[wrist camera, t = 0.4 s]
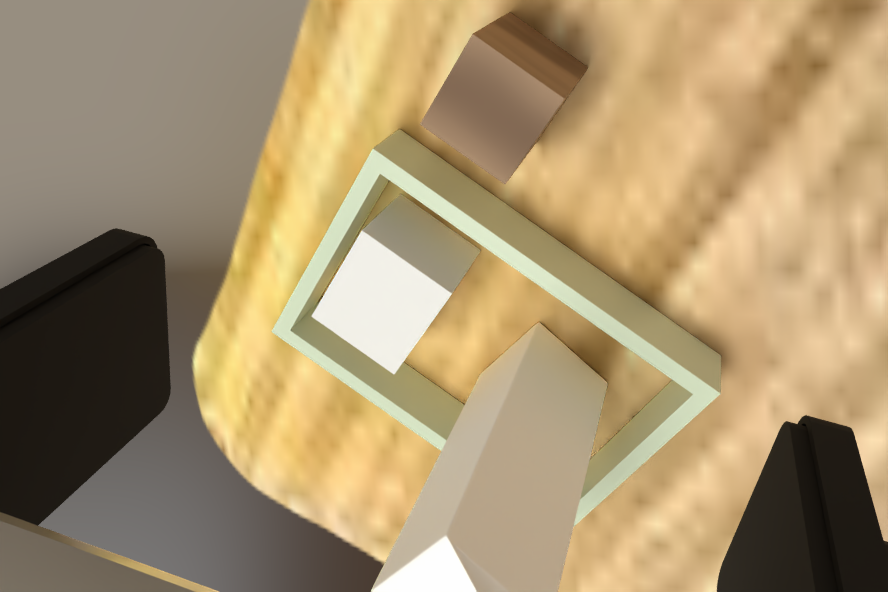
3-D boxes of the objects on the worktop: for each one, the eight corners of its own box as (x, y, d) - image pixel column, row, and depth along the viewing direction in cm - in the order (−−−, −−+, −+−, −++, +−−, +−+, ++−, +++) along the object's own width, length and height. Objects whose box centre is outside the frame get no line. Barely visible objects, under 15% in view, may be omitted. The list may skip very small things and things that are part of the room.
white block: (400, 193, 47) (361, 230, 42) (481, 249, 47) (452, 293, 42) (352, 273, 51) (311, 316, 46) (427, 325, 51) (394, 374, 46)
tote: (399, 128, 45) (372, 148, 42) (721, 355, 45) (720, 393, 42) (300, 303, 53) (271, 331, 50) (573, 495, 54) (562, 536, 50)
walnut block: (509, 12, 40) (472, 34, 35) (588, 67, 40) (564, 99, 35) (462, 91, 43) (419, 124, 37) (535, 143, 43) (505, 184, 37)
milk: (480, 372, 51) (336, 647, 33) (539, 319, 48) (416, 591, 30) (548, 432, 52) (443, 736, 33) (611, 383, 49) (534, 691, 30)
